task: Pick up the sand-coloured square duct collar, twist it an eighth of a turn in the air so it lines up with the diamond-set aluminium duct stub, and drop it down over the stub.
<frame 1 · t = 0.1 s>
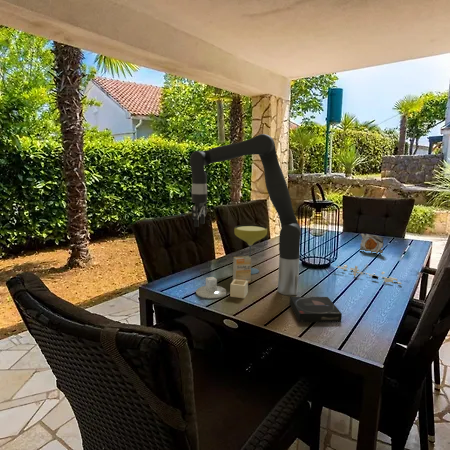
hand: (199, 225, 168), 29 cm above the table, tool pointing down, fingers open, 8 cm apart
miniature set: (367, 277, 185), on the table
supplement box: (241, 282, 174), on the table
duct stub: (211, 292, 159), on the table
cocktail glass: (249, 271, 191), on the table
duct collar: (239, 294, 157), on the table
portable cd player: (313, 314, 140), on the table
meal: (370, 254, 231), on the table
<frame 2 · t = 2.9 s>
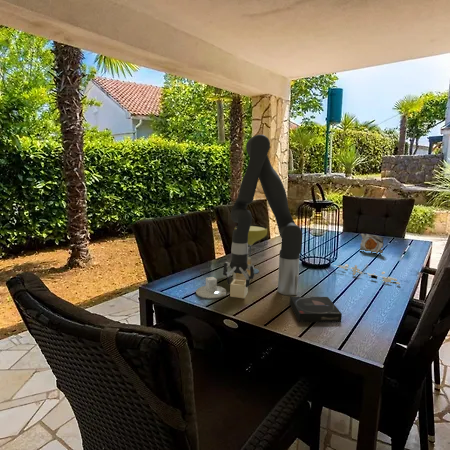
hand: (238, 285, 157), 4 cm above the table, tool pointing down, fingers open, 8 cm apart
duct collar: (238, 294, 157), on the table, touching gripper
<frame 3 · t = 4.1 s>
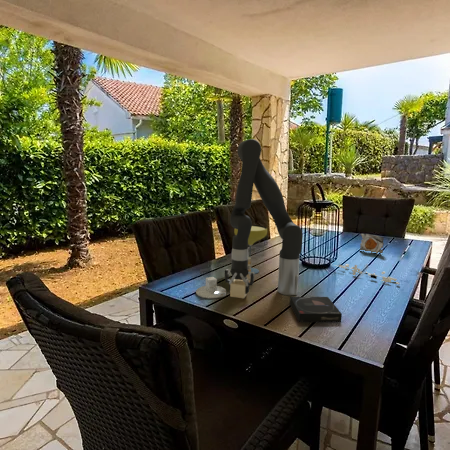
hand: (239, 292, 157), 1 cm above the table, tool pointing down, fingers closed on duct collar, 6 cm apart
duct collar: (239, 294, 157), on the table, touching gripper
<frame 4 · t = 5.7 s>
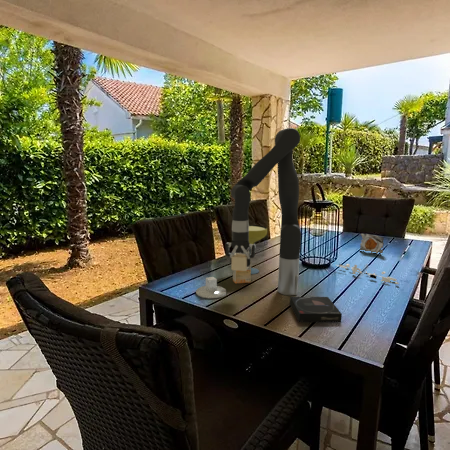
hand: (240, 265, 154), 14 cm above the table, tool pointing down, fingers closed on duct collar, 6 cm apart
duct collar: (240, 268, 154), point 13 cm above the table, touching gripper
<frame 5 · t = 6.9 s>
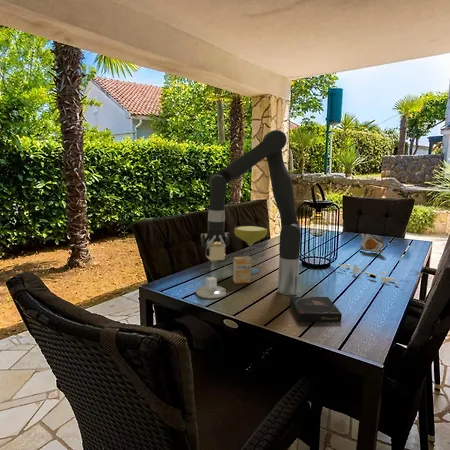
hand: (215, 255, 155), 18 cm above the table, tool pointing down, fingers closed on duct collar, 6 cm apart
duct collar: (215, 258, 155), point 17 cm above the table, touching gripper
when the fingers open (10 cm above the table, at t = 9.7 s): duct collar drops 7 cm, resting on duct stub.
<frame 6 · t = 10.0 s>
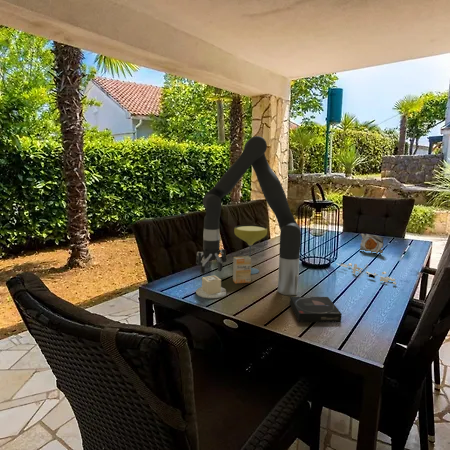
hand: (211, 272, 157), 10 cm above the table, tool pointing down, fingers open, 8 cm apart
duct collar: (211, 290, 159), point 1 cm above the table, touching duct stub
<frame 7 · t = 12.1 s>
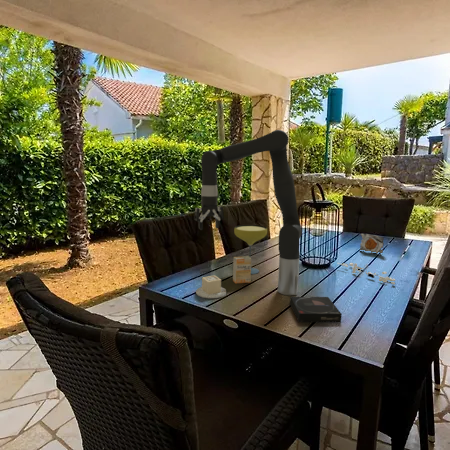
hand: (209, 228, 161), 29 cm above the table, tool pointing down, fingers open, 8 cm apart
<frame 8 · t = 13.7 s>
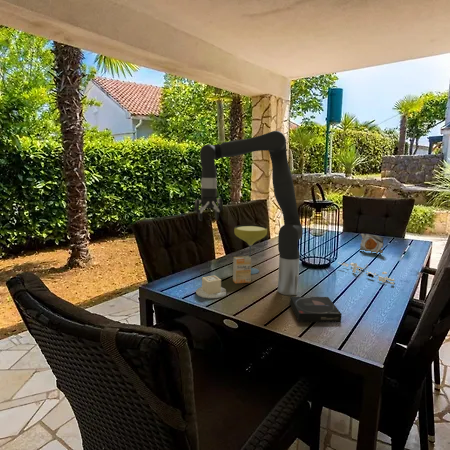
hand: (208, 220, 167), 32 cm above the table, tool pointing down, fingers open, 8 cm apart
at the end: duct collar 0.1 cm off-centre on the duct stub, point 1.0 cm above the duct stub's base; duct collar tilted 0°; the gripper is holding nothing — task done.
